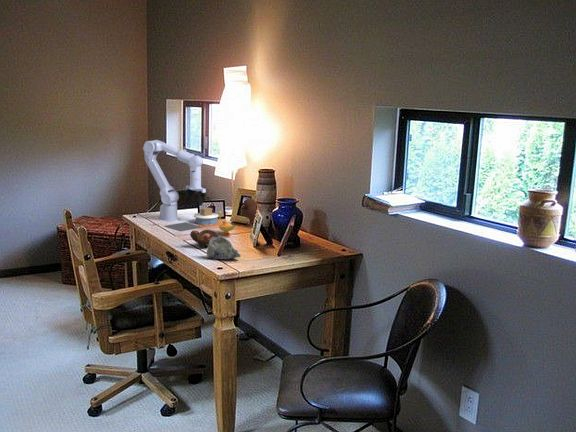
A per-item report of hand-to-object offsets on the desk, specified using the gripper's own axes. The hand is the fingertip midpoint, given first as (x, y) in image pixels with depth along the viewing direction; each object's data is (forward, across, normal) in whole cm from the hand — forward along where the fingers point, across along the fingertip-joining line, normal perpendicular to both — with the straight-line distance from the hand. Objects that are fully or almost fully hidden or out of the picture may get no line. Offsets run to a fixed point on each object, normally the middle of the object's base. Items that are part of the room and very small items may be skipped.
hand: (195, 204), depth 306 cm
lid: (+6, +5, +3) cm, 8 cm away
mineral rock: (+10, +62, -34) cm, 71 cm away
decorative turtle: (+10, +42, -26) cm, 50 cm away
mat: (+10, +5, -12) cm, 16 cm away
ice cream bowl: (+10, +25, +17) cm, 32 cm away
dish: (+10, +5, +4) cm, 12 cm away
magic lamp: (+10, +32, -5) cm, 34 cm away
